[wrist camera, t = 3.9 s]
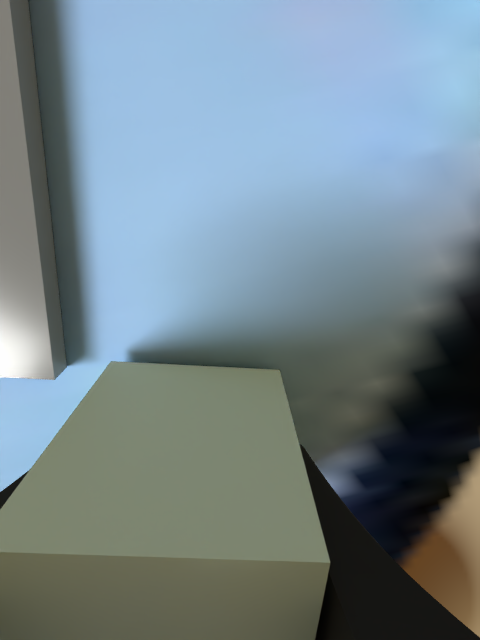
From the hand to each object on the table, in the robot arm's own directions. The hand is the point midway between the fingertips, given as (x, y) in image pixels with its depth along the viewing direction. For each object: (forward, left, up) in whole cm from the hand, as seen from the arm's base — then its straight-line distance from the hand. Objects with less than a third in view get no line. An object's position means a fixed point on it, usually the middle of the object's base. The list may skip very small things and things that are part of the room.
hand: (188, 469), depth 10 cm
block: (0, 0, -2) cm, 2 cm away
